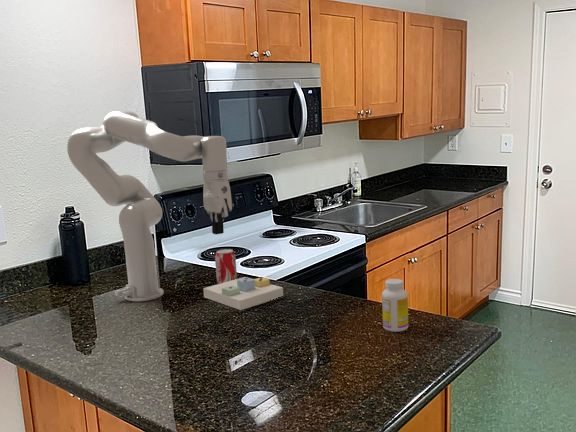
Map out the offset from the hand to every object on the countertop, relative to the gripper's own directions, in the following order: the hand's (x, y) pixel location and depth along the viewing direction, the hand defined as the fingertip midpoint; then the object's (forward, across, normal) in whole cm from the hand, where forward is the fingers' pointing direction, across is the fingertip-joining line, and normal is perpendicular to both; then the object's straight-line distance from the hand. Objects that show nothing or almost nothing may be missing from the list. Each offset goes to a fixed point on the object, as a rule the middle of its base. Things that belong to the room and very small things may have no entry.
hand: (218, 233), depth 186 cm
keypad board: (+21, -5, -5) cm, 22 cm away
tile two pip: (+19, -7, -5) cm, 21 cm away
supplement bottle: (+20, -59, -17) cm, 64 cm away
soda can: (+22, +11, -10) cm, 26 cm away
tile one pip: (+20, -7, +1) cm, 22 cm away
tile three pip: (+20, -7, -11) cm, 24 cm away
